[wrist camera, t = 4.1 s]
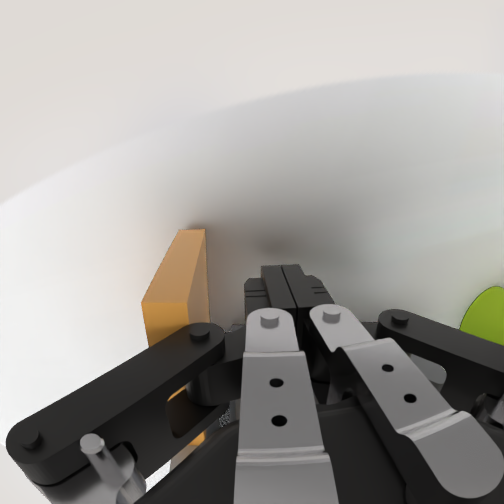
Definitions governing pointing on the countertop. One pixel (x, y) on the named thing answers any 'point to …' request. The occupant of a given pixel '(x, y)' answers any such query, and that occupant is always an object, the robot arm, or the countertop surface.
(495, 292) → the soap dispenser
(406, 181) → the countertop surface
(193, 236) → the side door
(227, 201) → the countertop surface
